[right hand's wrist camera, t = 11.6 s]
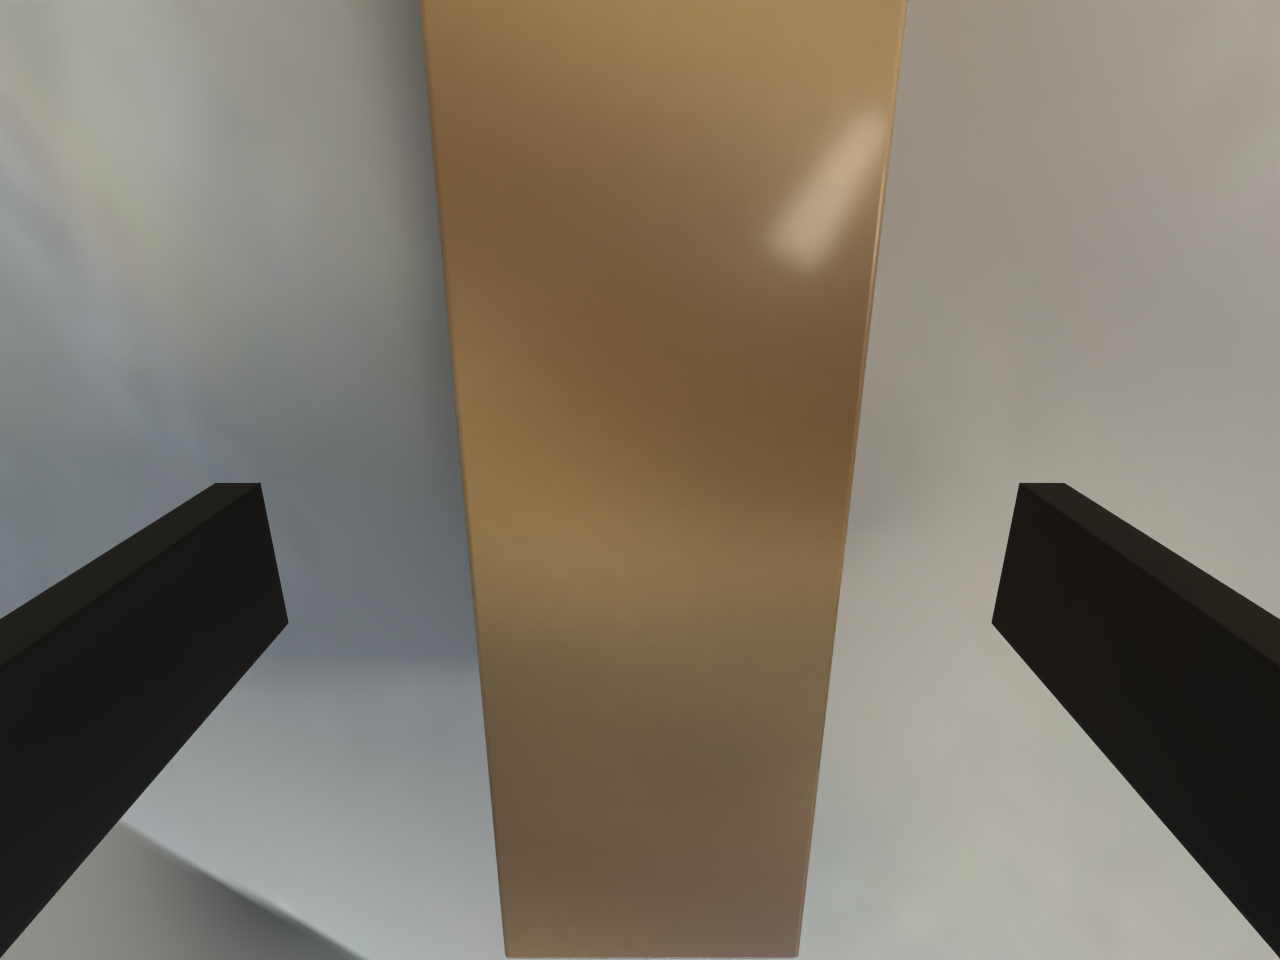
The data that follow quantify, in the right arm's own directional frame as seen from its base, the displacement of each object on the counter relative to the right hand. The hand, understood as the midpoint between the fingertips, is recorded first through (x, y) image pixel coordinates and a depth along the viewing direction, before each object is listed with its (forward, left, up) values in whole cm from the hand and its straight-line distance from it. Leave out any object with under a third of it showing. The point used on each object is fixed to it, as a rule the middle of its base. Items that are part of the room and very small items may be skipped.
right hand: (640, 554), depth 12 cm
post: (+3, -34, -4) cm, 34 cm away
